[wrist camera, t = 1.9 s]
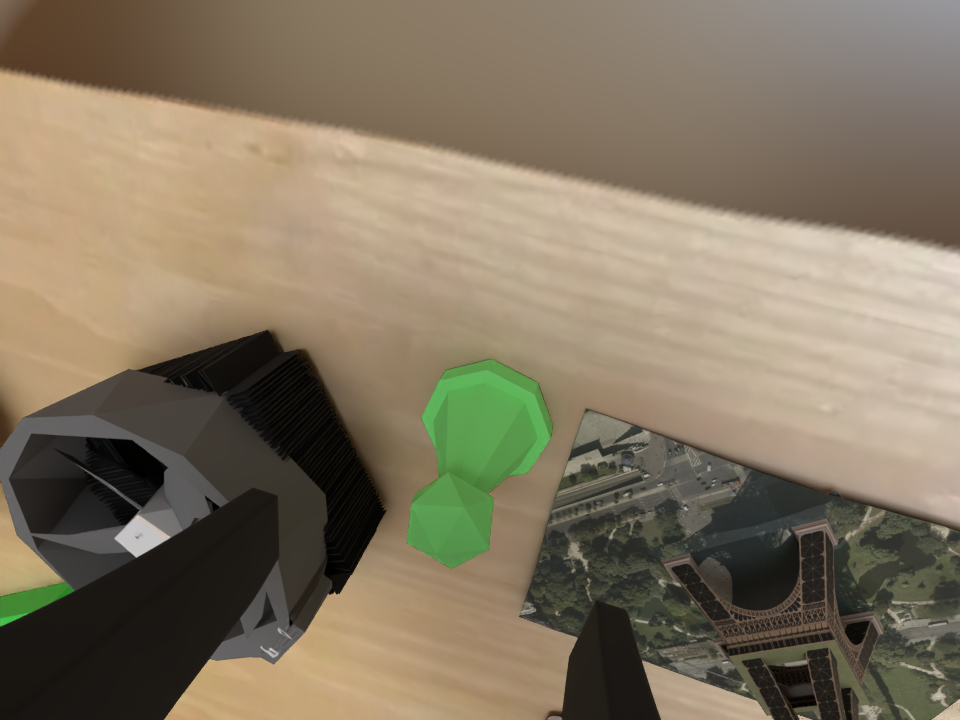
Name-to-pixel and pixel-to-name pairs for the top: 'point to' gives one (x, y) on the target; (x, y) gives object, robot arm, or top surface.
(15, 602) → the mechanical part
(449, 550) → the game piece
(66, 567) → the cpu cooler
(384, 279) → the top surface
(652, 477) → the eiffel tower figurine
